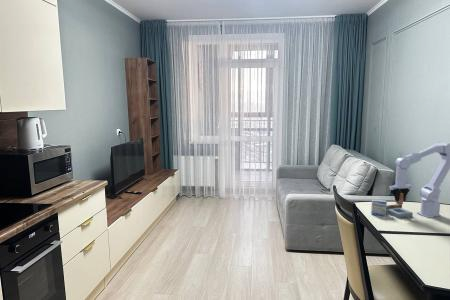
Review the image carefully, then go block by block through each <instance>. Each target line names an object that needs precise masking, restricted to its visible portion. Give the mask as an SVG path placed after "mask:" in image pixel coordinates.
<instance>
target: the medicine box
mask: <svg viewBox="0 0 450 300" xmlns="http://www.w3.org/2000/svg"><path fill="white" fill-rule="evenodd" d="M387 205H388V203H387V200H383V199H374V198H372V199H371V209H370V210H371V211H370V213H371V215H372V216H379V215H380V216H381V217H382V216H383V217H386V216H387V213H386V207H387ZM380 216H379V217H380Z"/></svg>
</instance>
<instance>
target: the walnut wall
mask: <svg viewBox="0 0 450 300" xmlns="http://www.w3.org/2000/svg"><path fill="white" fill-rule="evenodd" d="M397 207H400V208H402V209H403V204H397V203H395V204H387V207H386V209H388V208H397Z"/></svg>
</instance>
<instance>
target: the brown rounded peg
mask: <svg viewBox="0 0 450 300" xmlns="http://www.w3.org/2000/svg"><path fill="white" fill-rule="evenodd" d="M403 195H404V194H403V193H400V197H399V201H395V204H402V205H403V204H404V201H403Z"/></svg>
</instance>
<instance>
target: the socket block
mask: <svg viewBox="0 0 450 300" xmlns="http://www.w3.org/2000/svg"><path fill="white" fill-rule="evenodd" d="M387 213H388V214H387ZM413 213H414V212H412V211H410V210H407V209H404V208H403V207H402V208H400V207H397V208H388V209H386V214H387V215H389V214H390V216H392V217H394V218H397V219H403V218H412V217H413Z"/></svg>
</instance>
